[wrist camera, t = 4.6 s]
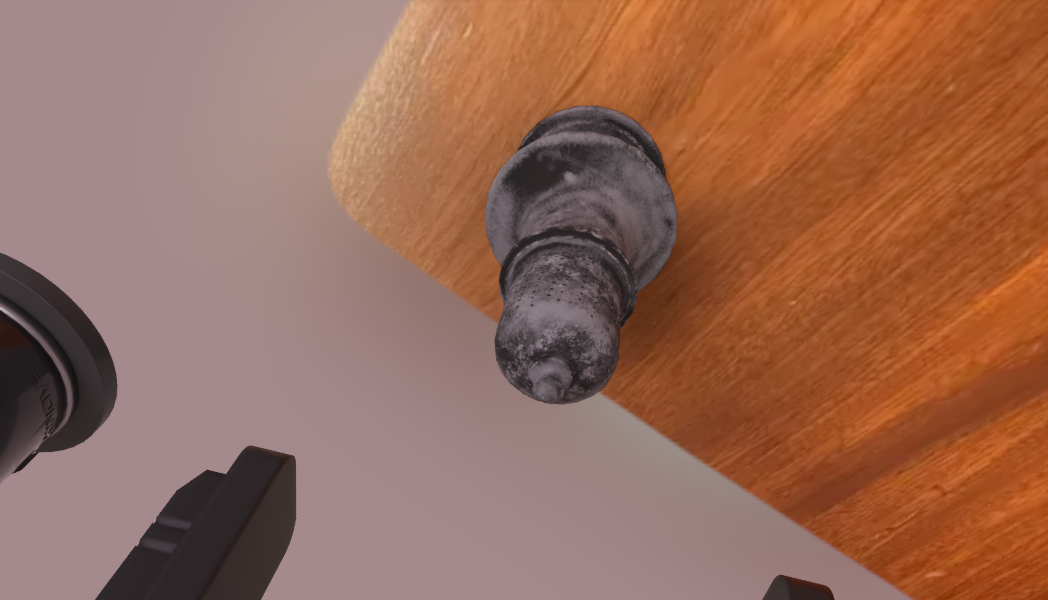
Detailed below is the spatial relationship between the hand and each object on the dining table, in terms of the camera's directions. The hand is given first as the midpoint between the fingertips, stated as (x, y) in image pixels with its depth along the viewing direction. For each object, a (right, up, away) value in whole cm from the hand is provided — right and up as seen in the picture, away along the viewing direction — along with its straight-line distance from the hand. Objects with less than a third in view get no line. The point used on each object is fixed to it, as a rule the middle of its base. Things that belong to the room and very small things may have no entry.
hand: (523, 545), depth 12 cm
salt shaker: (+2, +8, +13) cm, 16 cm away
